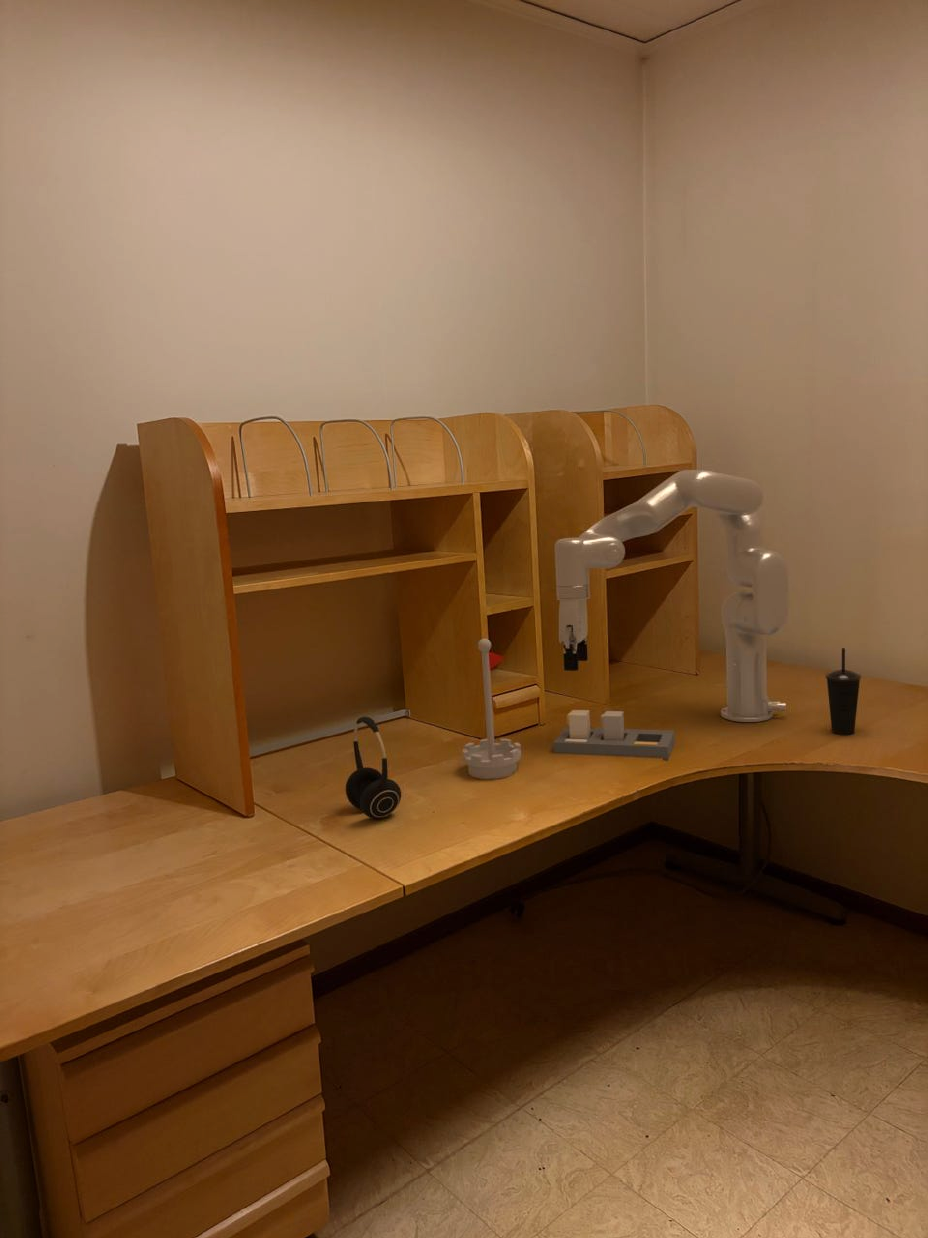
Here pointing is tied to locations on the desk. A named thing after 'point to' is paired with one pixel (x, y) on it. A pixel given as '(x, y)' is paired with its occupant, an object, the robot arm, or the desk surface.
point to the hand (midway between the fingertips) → (576, 665)
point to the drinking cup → (843, 698)
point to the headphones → (372, 782)
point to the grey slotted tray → (617, 740)
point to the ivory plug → (579, 724)
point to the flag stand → (490, 733)
